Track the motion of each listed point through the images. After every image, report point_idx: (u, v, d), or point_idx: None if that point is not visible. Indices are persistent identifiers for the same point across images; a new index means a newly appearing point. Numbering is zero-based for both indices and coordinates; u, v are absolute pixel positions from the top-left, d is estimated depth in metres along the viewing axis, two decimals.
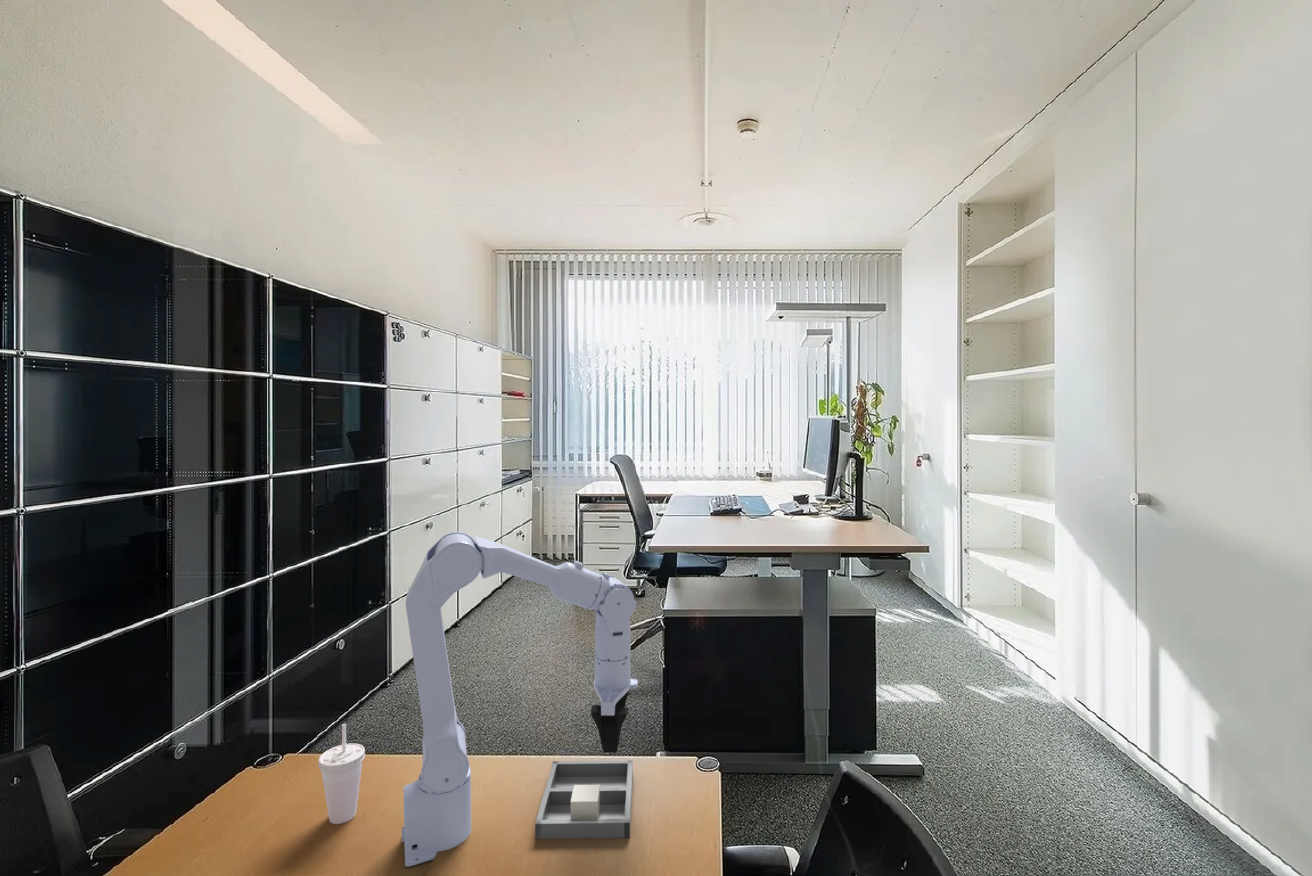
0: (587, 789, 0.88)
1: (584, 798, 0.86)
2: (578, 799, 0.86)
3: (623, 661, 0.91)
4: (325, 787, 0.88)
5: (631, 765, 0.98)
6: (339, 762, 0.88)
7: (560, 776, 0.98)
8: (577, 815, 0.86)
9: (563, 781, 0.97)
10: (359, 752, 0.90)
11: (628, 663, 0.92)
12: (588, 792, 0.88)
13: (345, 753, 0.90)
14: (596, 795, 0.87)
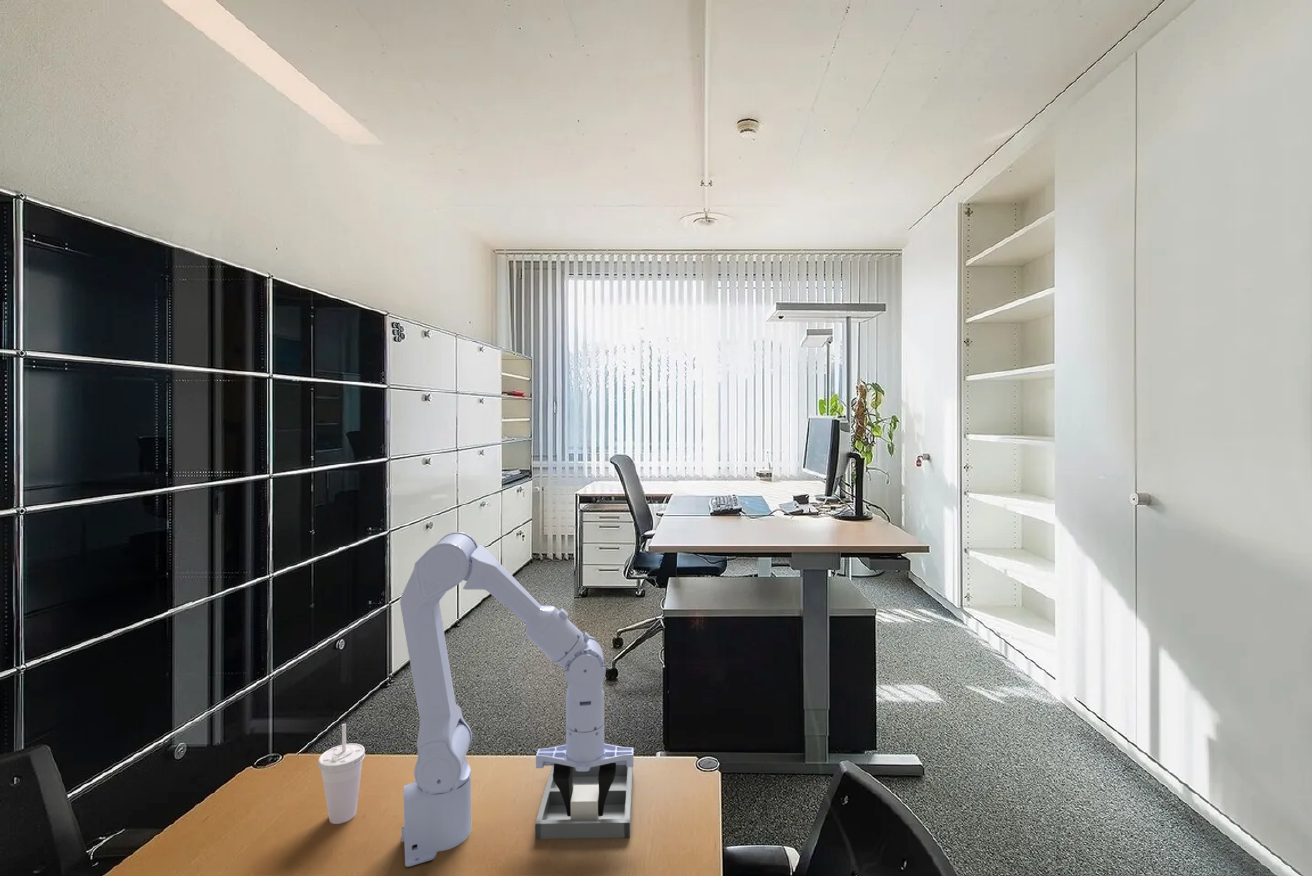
0: (587, 789, 0.88)
1: (584, 798, 0.86)
2: (578, 799, 0.86)
3: (569, 731, 0.85)
4: (325, 787, 0.88)
5: None
6: (339, 762, 0.88)
7: None
8: (577, 815, 0.86)
9: None
10: (359, 752, 0.90)
11: (575, 738, 0.85)
12: (588, 792, 0.88)
13: (345, 753, 0.90)
14: (596, 795, 0.87)
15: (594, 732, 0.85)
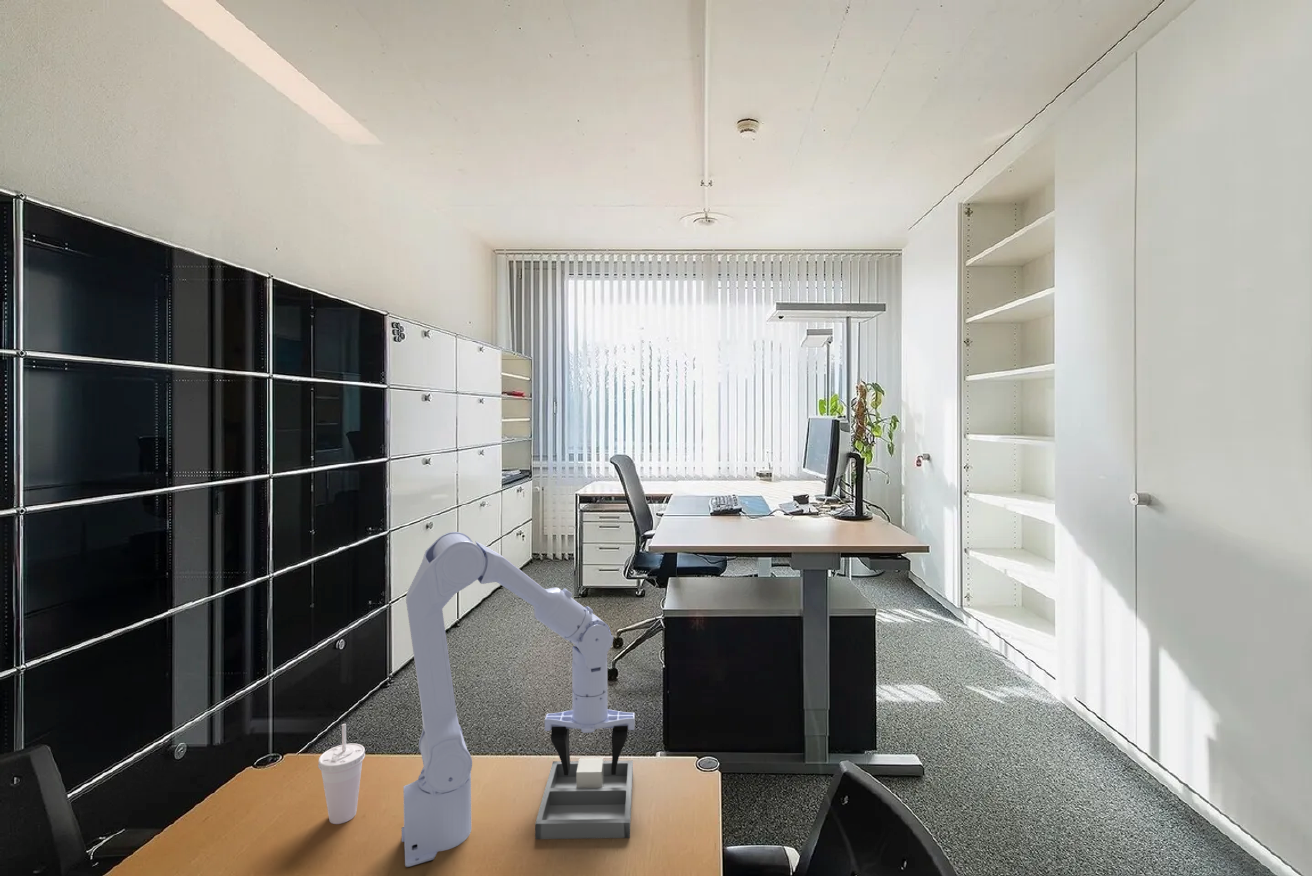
0: (592, 761, 0.96)
1: (589, 769, 0.94)
2: (584, 770, 0.93)
3: (575, 696, 0.93)
4: (325, 787, 0.88)
5: (631, 765, 0.98)
6: (339, 762, 0.88)
7: (560, 776, 0.98)
8: (582, 785, 0.93)
9: (563, 781, 0.97)
10: (359, 752, 0.90)
11: (581, 702, 0.92)
12: (593, 764, 0.95)
13: (345, 753, 0.90)
14: (600, 767, 0.94)
15: (598, 697, 0.92)
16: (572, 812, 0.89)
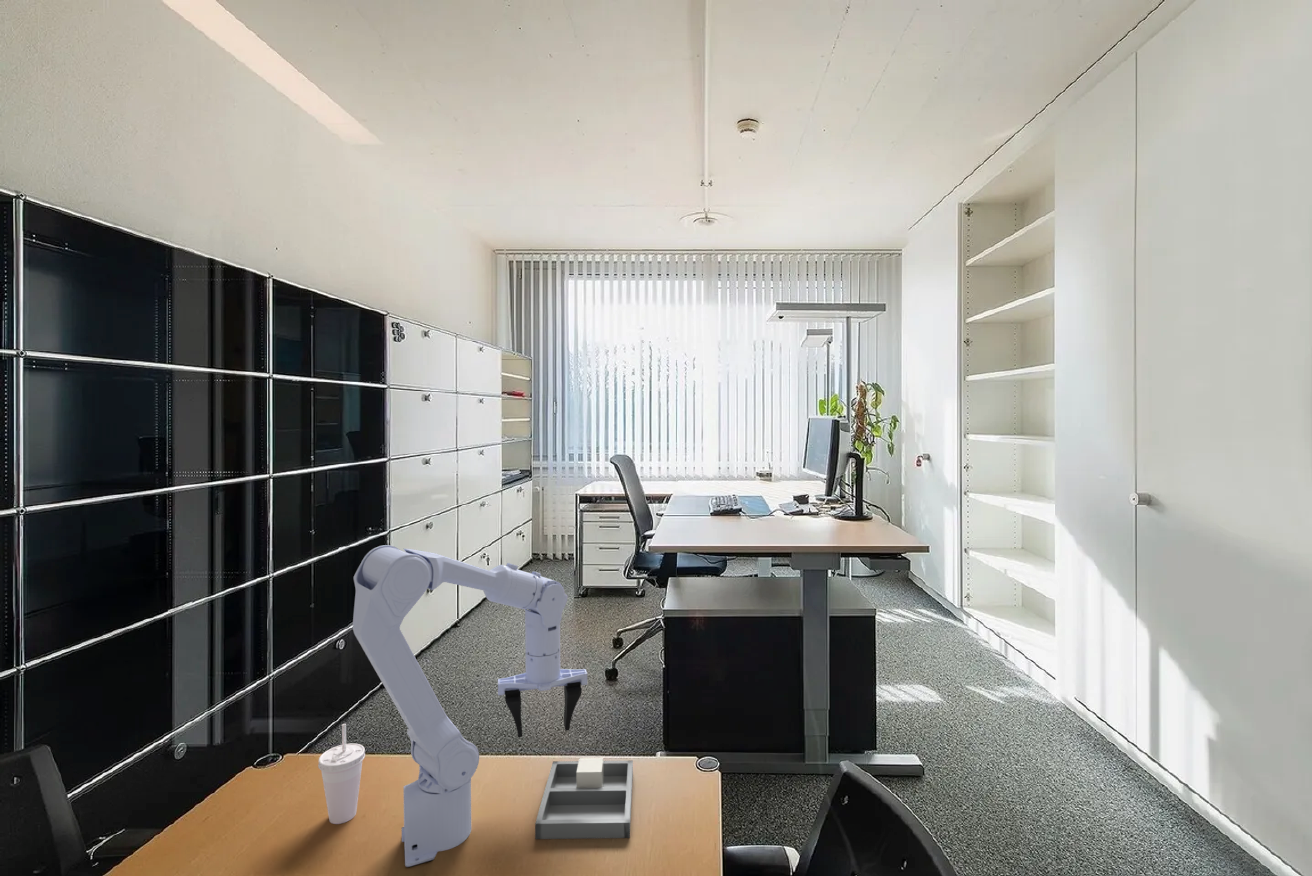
0: (592, 761, 0.96)
1: (589, 769, 0.94)
2: (584, 770, 0.93)
3: (530, 657, 0.94)
4: (325, 787, 0.88)
5: (631, 765, 0.98)
6: (339, 762, 0.88)
7: (560, 776, 0.98)
8: (582, 785, 0.93)
9: (563, 781, 0.97)
10: (359, 752, 0.90)
11: (537, 662, 0.94)
12: (593, 764, 0.95)
13: (345, 753, 0.90)
14: (600, 767, 0.94)
15: (554, 655, 0.95)
16: (572, 812, 0.89)
